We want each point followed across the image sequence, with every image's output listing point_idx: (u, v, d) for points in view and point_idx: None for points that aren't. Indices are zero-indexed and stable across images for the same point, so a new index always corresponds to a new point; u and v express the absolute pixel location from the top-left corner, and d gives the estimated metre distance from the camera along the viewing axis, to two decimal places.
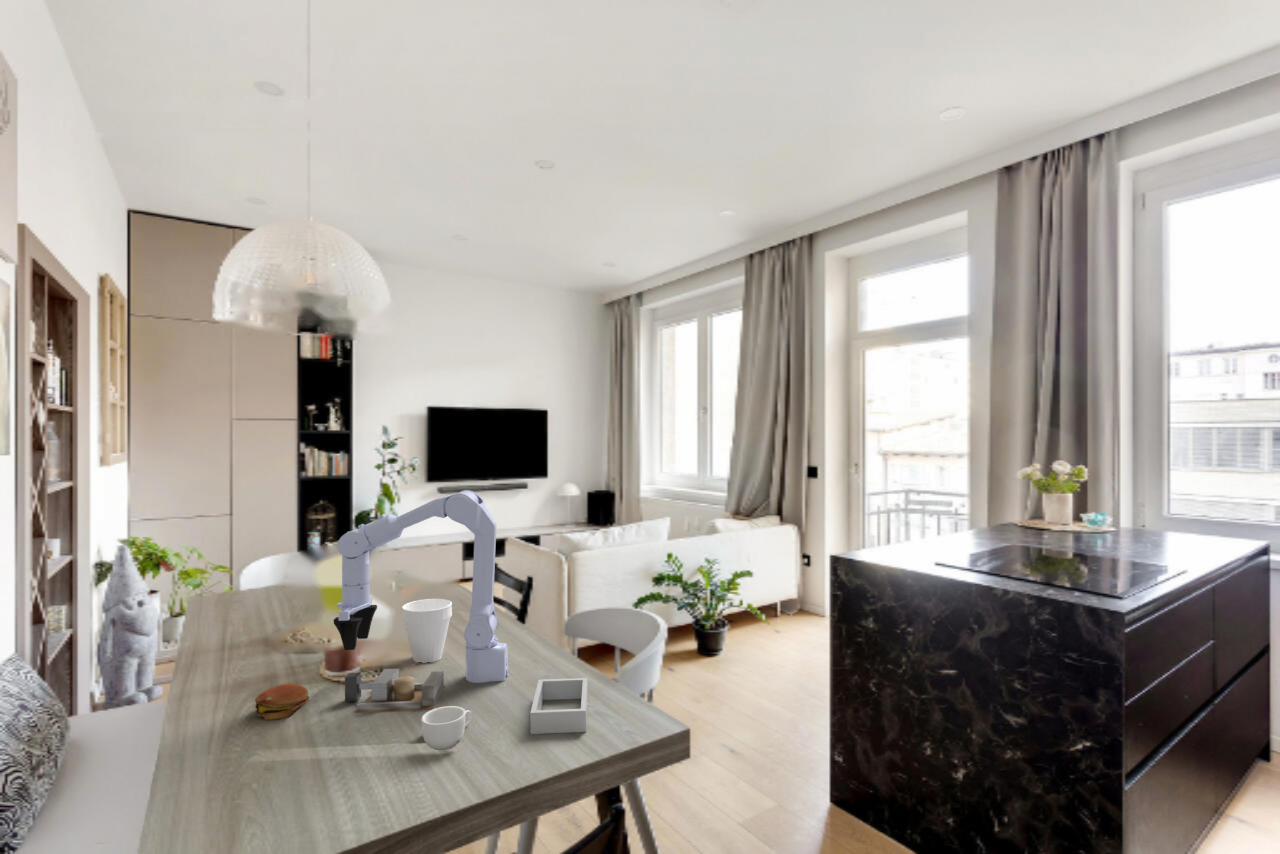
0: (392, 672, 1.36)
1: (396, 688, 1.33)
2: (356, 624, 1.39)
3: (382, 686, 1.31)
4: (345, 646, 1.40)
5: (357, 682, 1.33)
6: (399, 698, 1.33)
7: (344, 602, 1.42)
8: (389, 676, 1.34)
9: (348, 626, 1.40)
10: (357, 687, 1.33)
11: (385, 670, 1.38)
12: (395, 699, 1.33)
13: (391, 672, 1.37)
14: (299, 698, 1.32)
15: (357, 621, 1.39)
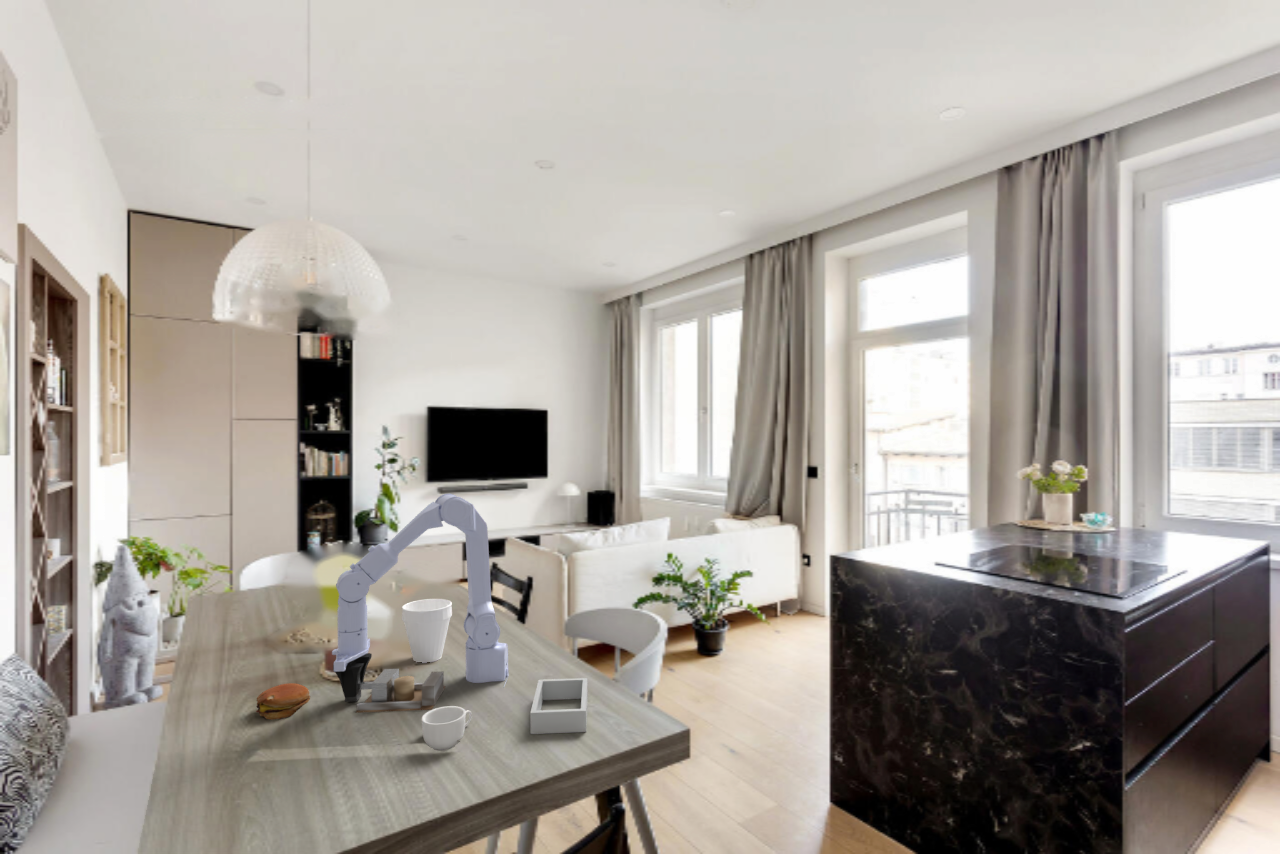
0: (392, 672, 1.36)
1: (396, 688, 1.33)
2: (357, 670, 1.31)
3: (382, 686, 1.31)
4: (345, 693, 1.32)
5: None
6: (399, 698, 1.33)
7: (340, 650, 1.32)
8: (389, 676, 1.34)
9: (348, 672, 1.32)
10: None
11: (385, 670, 1.38)
12: (395, 699, 1.33)
13: (391, 672, 1.37)
14: (300, 698, 1.32)
15: (358, 667, 1.31)
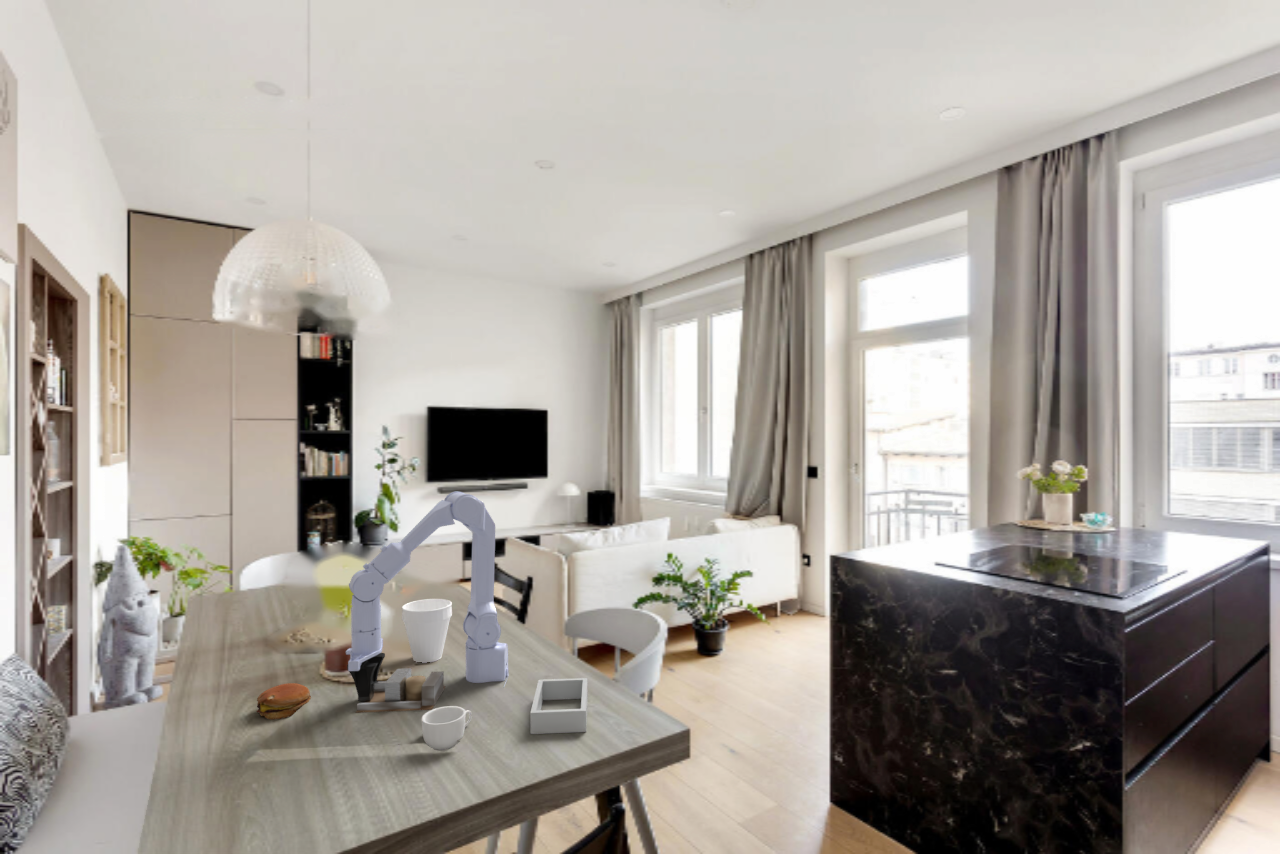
0: (405, 672, 1.37)
1: (408, 688, 1.33)
2: (371, 670, 1.31)
3: (396, 685, 1.31)
4: (359, 693, 1.32)
5: None
6: (410, 698, 1.33)
7: (354, 649, 1.32)
8: (402, 676, 1.34)
9: (362, 672, 1.32)
10: None
11: (398, 670, 1.38)
12: (406, 699, 1.33)
13: (404, 671, 1.37)
14: (301, 698, 1.32)
15: (372, 667, 1.31)
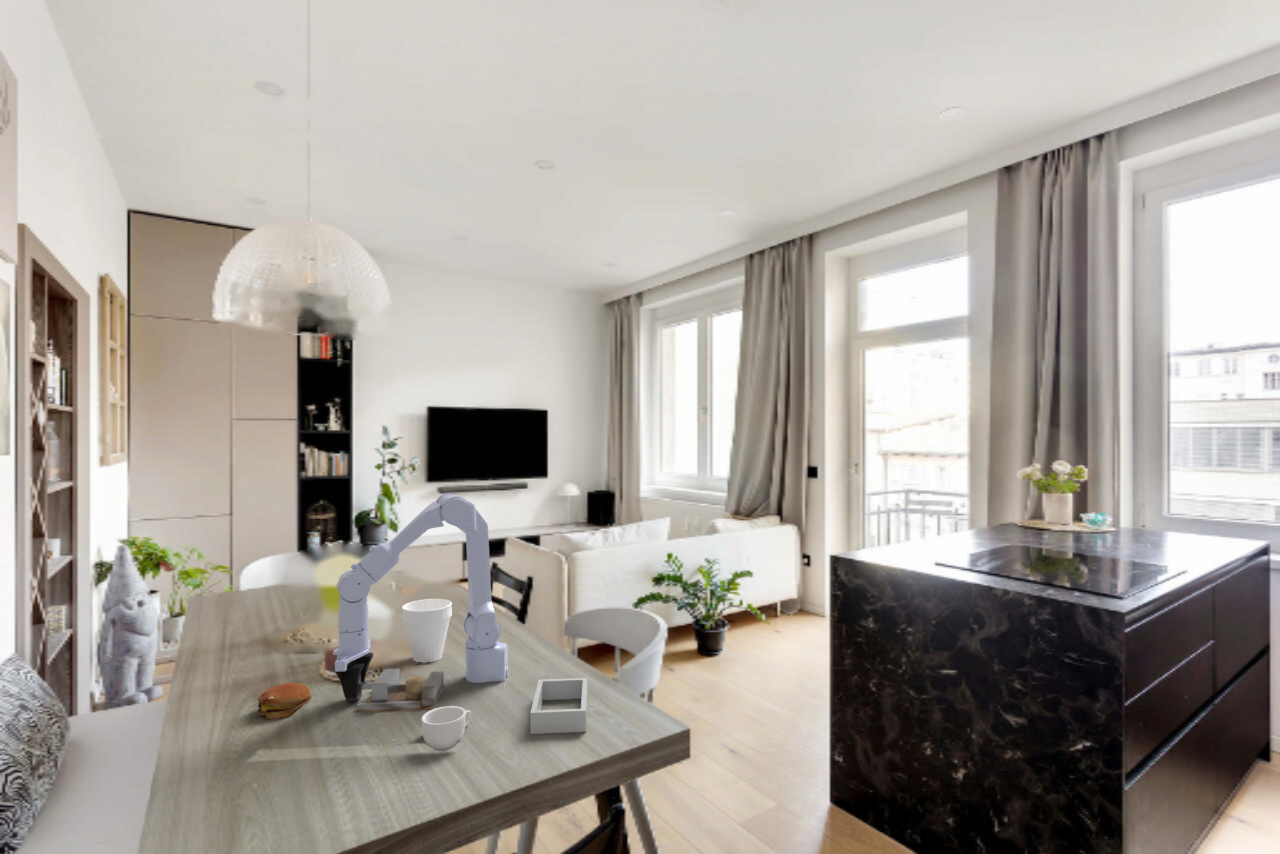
0: (393, 672, 1.37)
1: (408, 688, 1.33)
2: (357, 671, 1.31)
3: (383, 686, 1.31)
4: (346, 694, 1.32)
5: None
6: (411, 698, 1.33)
7: (341, 650, 1.32)
8: (389, 676, 1.34)
9: (349, 673, 1.32)
10: (358, 687, 1.33)
11: (386, 670, 1.38)
12: (406, 699, 1.33)
13: (392, 672, 1.37)
14: (302, 698, 1.32)
15: (359, 668, 1.31)
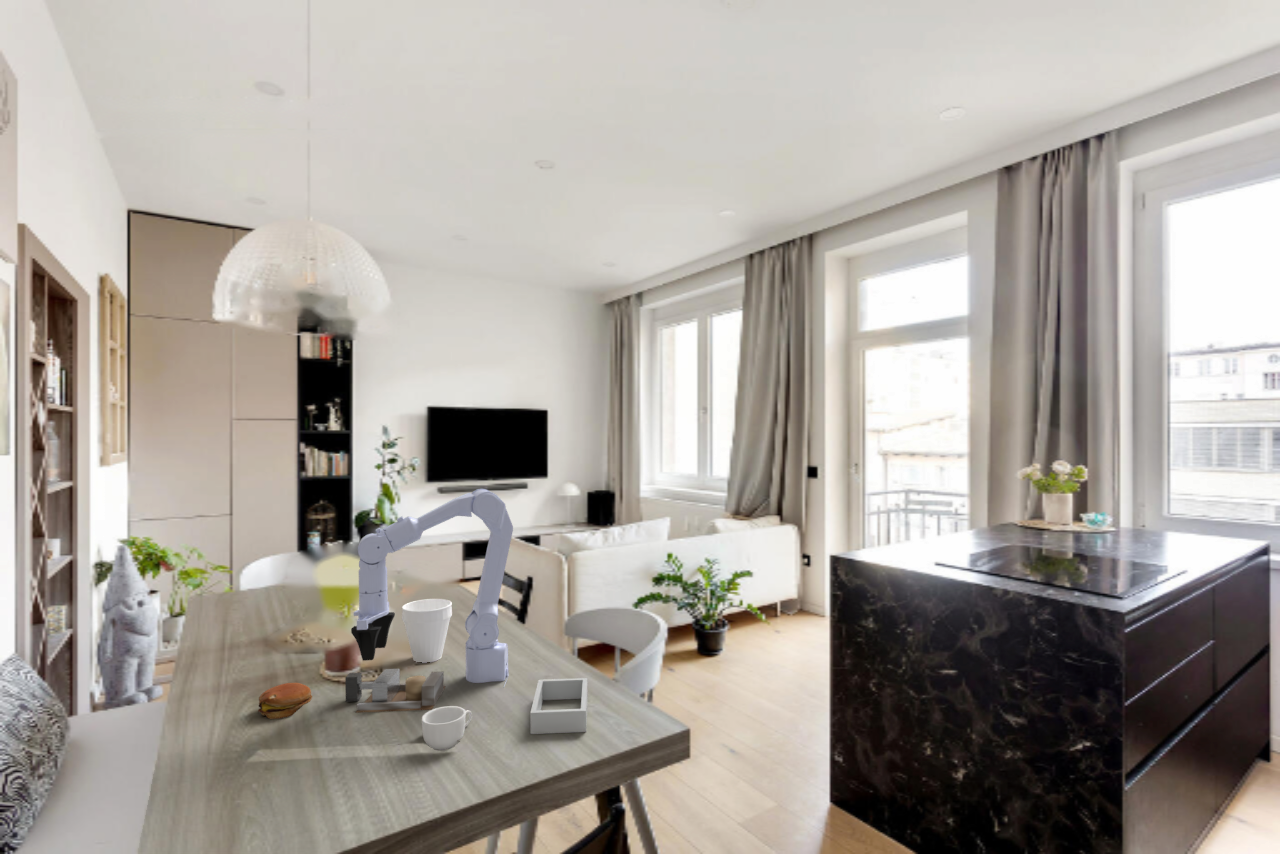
0: (393, 672, 1.37)
1: (408, 688, 1.33)
2: (375, 633, 1.32)
3: (383, 686, 1.31)
4: (363, 656, 1.34)
5: (358, 682, 1.34)
6: (411, 698, 1.33)
7: (361, 610, 1.36)
8: (389, 676, 1.34)
9: (366, 635, 1.34)
10: (358, 687, 1.33)
11: (386, 670, 1.38)
12: (406, 699, 1.33)
13: (392, 672, 1.37)
14: (302, 698, 1.32)
15: (376, 630, 1.32)
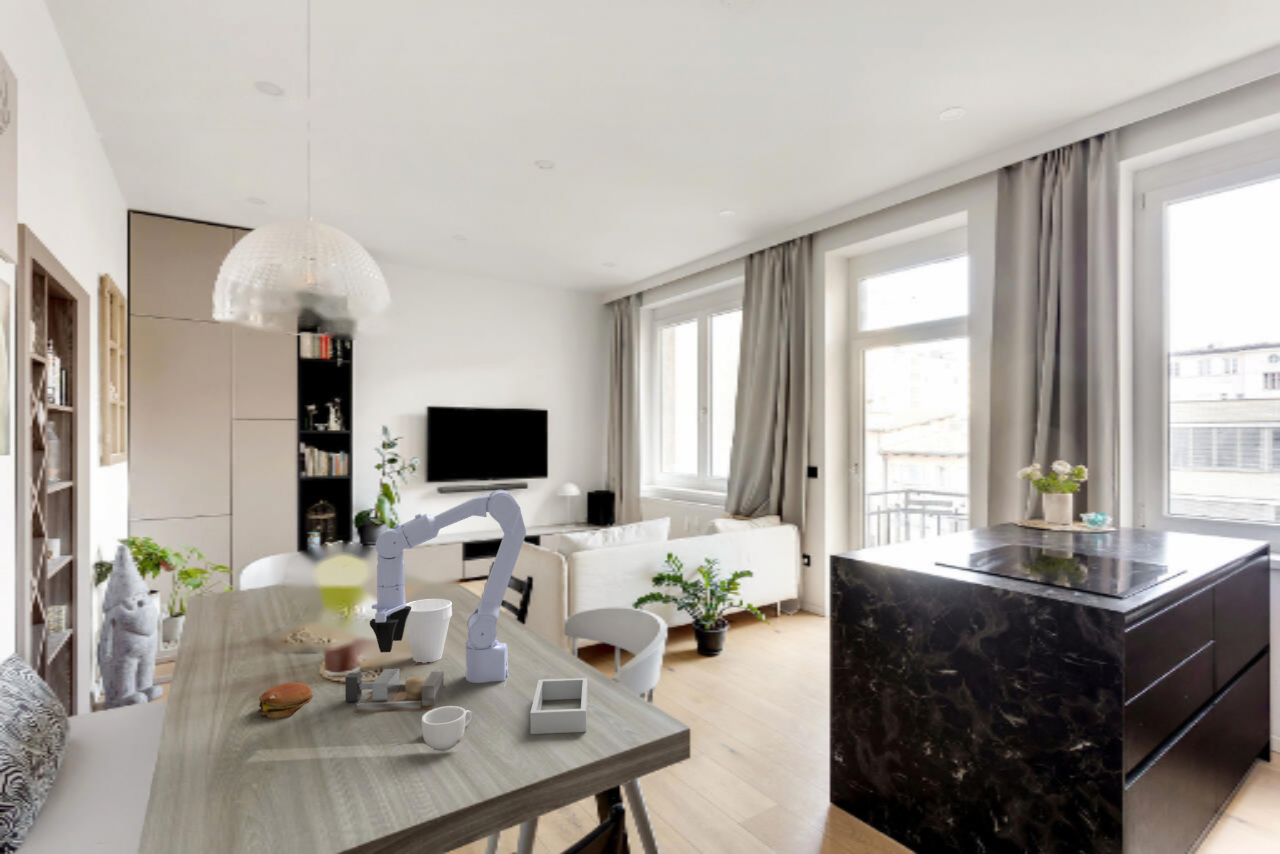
0: (393, 672, 1.37)
1: (408, 688, 1.33)
2: (393, 626, 1.36)
3: (383, 686, 1.31)
4: (381, 648, 1.37)
5: (358, 682, 1.34)
6: (411, 698, 1.33)
7: (379, 603, 1.39)
8: (389, 676, 1.34)
9: (384, 628, 1.37)
10: (358, 687, 1.33)
11: (386, 670, 1.38)
12: (406, 699, 1.33)
13: (392, 672, 1.37)
14: (303, 697, 1.33)
15: (394, 623, 1.36)
